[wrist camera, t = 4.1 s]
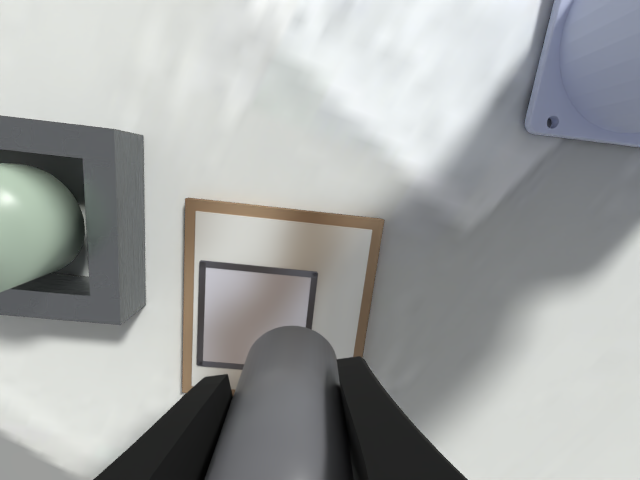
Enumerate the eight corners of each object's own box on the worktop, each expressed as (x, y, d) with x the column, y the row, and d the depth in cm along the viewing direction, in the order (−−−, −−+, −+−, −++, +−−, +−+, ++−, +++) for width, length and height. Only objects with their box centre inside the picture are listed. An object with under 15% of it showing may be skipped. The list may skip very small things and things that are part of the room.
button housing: (143, 135, 13) (114, 129, 11) (145, 305, 15) (120, 325, 13) (-51, 112, 13) (-116, 101, 11) (-26, 289, 14) (-78, 307, 13)
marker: (357, 343, 9) (461, 733, 3) (318, 421, 10) (330, 893, 3) (263, 308, 9) (138, 662, 2) (228, 391, 9) (54, 853, 3)
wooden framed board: (382, 218, 14) (385, 220, 14) (353, 400, 16) (355, 408, 16) (188, 197, 14) (183, 198, 13) (185, 386, 16) (180, 395, 15)
